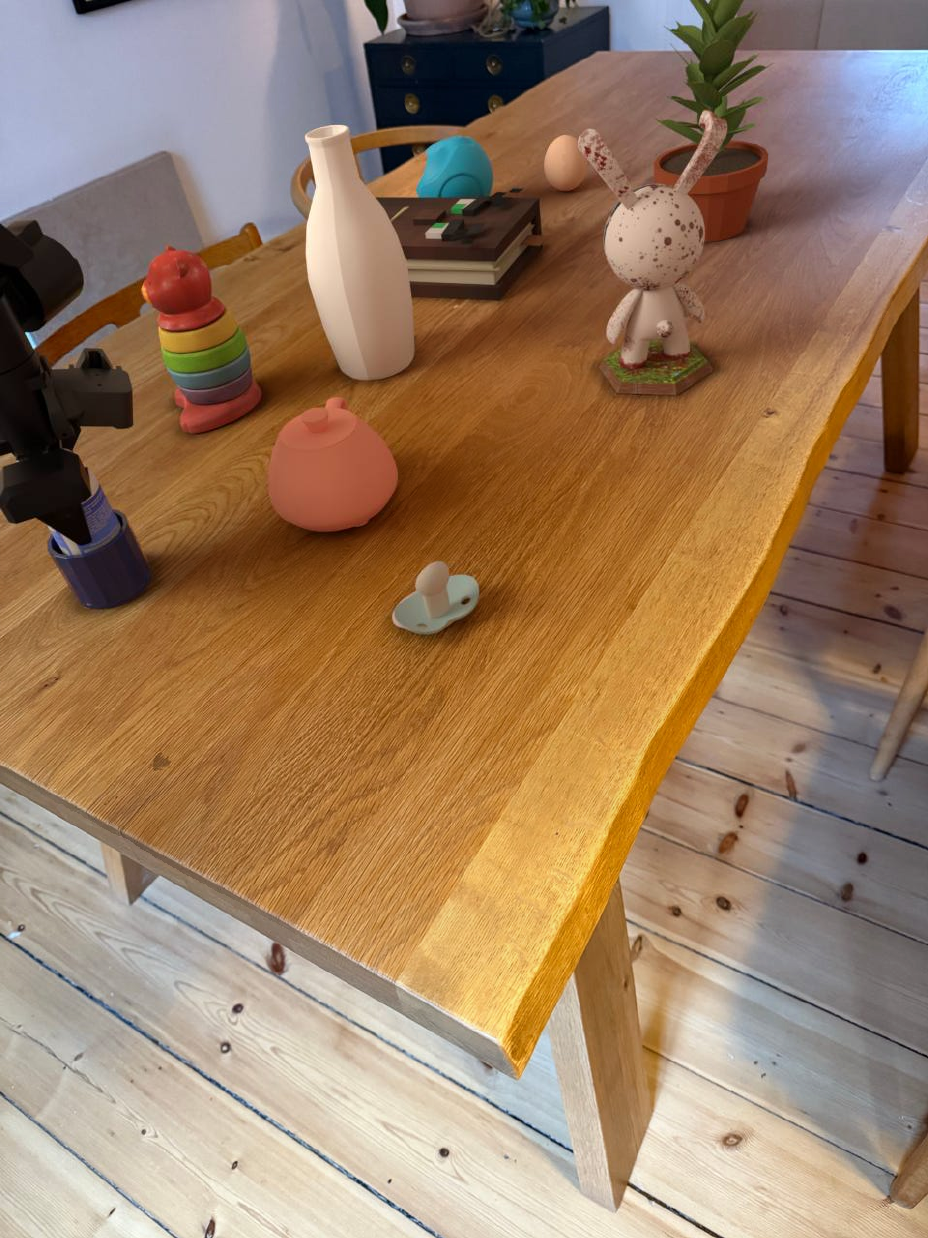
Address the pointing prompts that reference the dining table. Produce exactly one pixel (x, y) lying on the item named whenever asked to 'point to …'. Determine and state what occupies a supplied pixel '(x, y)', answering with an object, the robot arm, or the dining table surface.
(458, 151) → the blue rounded dome
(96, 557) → the dark blue cup
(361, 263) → the bottle
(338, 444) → the sugar bowl
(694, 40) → the potted plant
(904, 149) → the dining table surface
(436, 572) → the pacifier
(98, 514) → the pill bottle
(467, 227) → the decorative book
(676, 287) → the figurine
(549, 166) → the egg
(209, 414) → the stacking bear
